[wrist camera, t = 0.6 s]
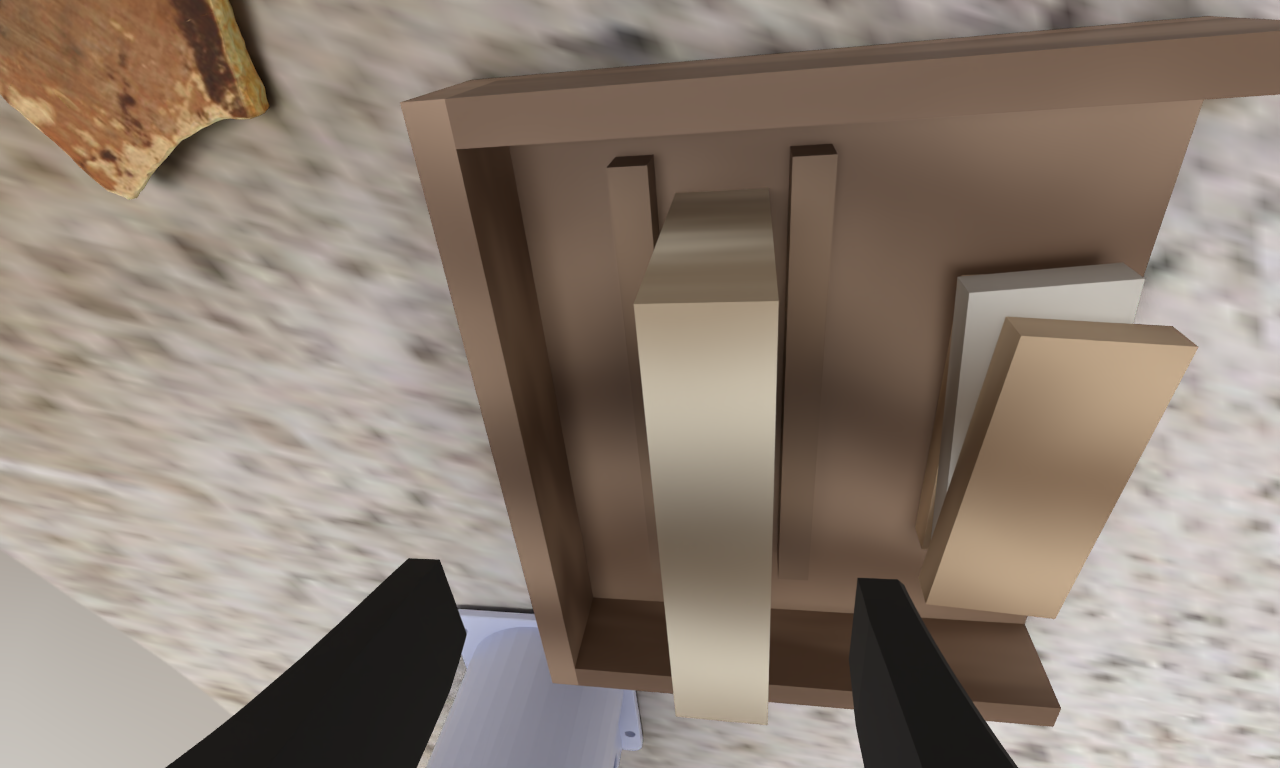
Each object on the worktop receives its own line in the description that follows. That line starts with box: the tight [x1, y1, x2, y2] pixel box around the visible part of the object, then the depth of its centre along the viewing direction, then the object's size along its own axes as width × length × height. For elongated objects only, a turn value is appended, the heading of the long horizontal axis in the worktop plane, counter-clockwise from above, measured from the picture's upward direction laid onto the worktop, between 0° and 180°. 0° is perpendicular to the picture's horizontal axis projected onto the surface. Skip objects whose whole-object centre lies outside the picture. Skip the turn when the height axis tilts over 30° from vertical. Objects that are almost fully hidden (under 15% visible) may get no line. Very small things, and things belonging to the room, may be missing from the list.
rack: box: [400, 16, 1280, 727], centre depth 19 cm, size 20×17×4 cm
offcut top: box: [918, 317, 1198, 619], centre depth 17 cm, size 9×4×1 cm, turn 0°
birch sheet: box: [634, 188, 779, 725], centre depth 17 cm, size 12×2×7 cm, turn 5°
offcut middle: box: [931, 263, 1145, 539], centre depth 17 cm, size 9×4×1 cm, turn 9°
